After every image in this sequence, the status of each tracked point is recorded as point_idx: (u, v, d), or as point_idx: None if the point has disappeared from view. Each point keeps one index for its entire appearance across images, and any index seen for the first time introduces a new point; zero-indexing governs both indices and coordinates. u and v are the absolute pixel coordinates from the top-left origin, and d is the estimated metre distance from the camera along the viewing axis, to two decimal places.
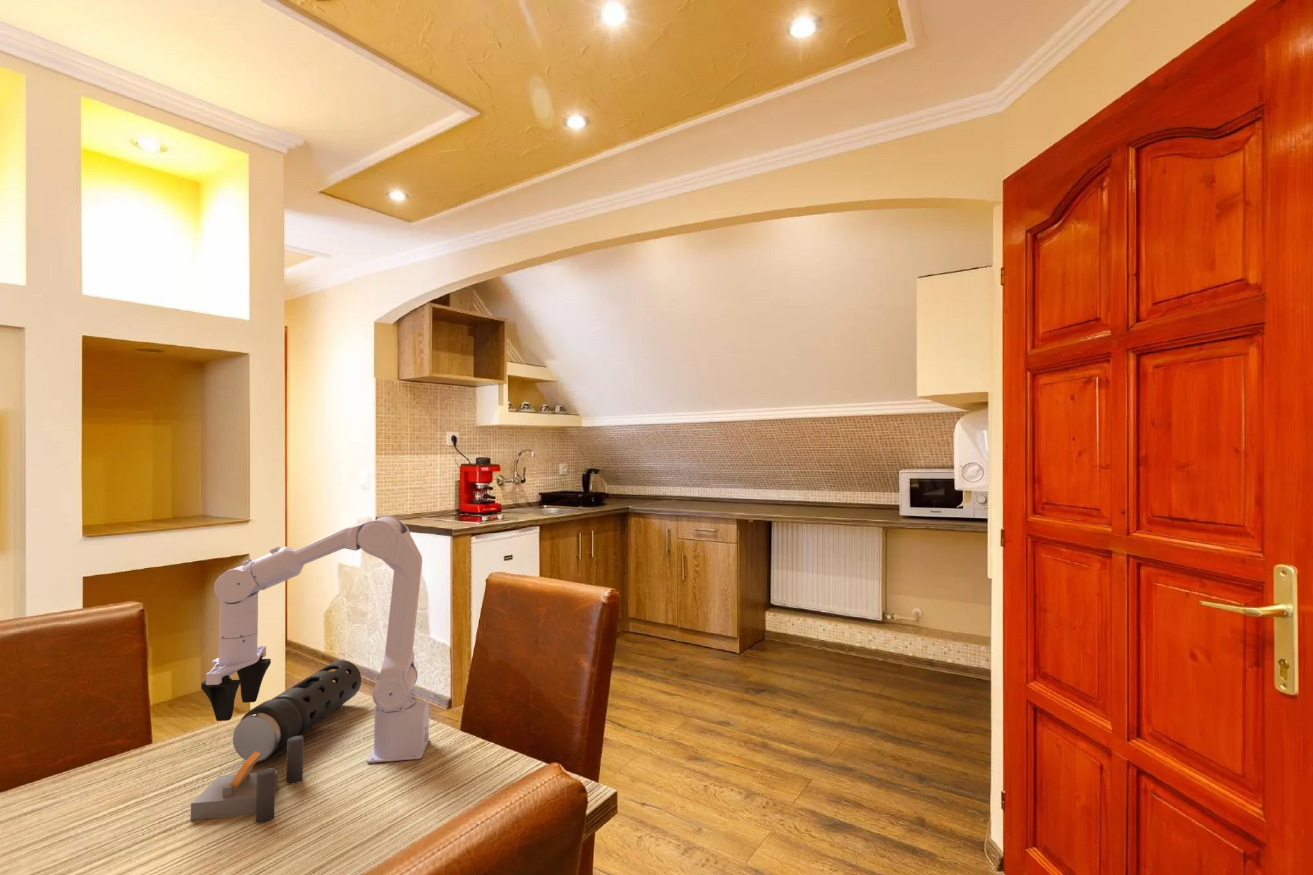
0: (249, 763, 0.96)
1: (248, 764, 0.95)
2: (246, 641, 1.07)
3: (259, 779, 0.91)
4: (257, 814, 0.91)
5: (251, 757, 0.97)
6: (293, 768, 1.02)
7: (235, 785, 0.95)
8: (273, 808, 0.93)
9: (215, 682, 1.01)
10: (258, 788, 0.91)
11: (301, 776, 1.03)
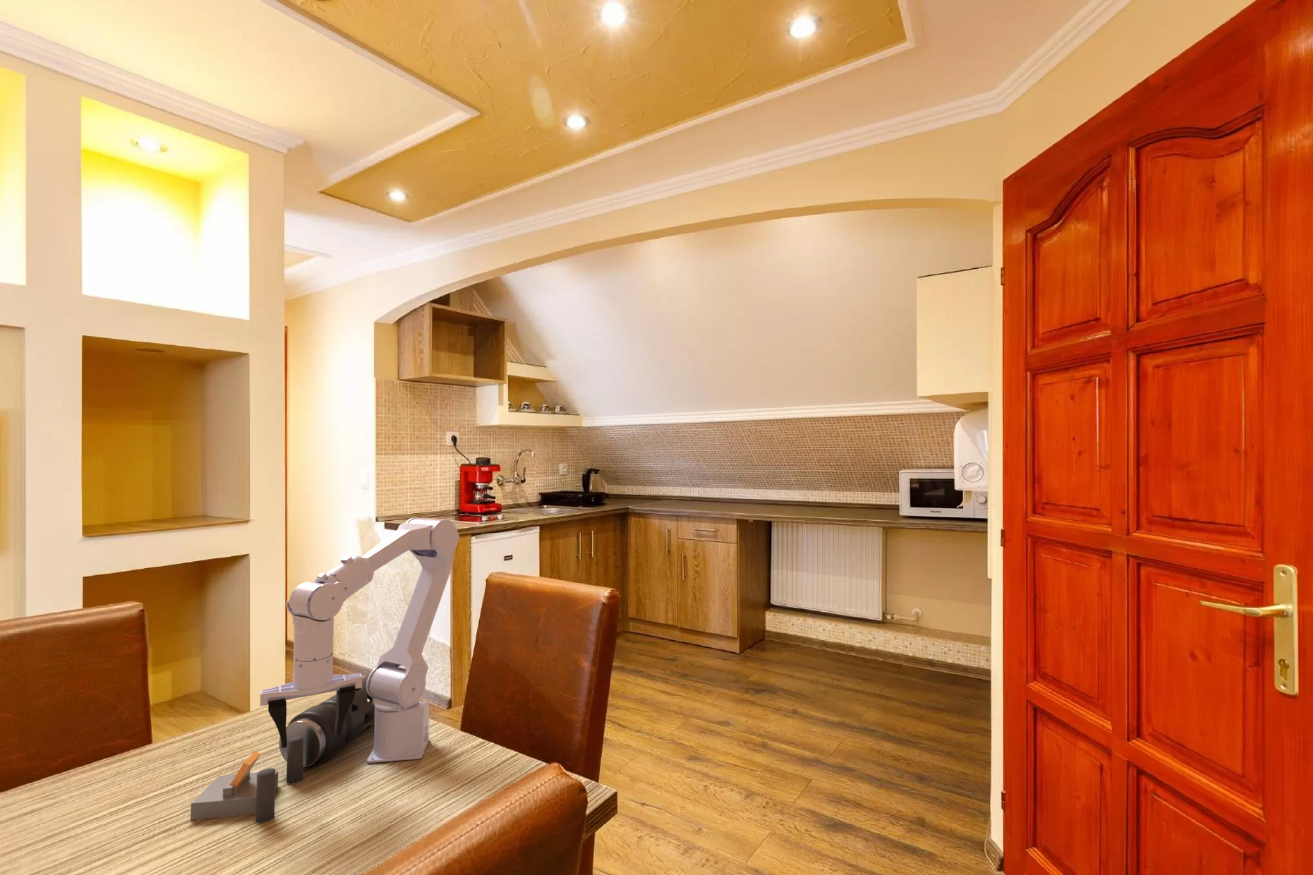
0: (249, 763, 0.96)
1: (248, 764, 0.95)
2: (302, 667, 0.96)
3: (259, 779, 0.91)
4: (257, 814, 0.91)
5: (251, 757, 0.97)
6: (293, 768, 1.02)
7: (235, 785, 0.95)
8: (273, 808, 0.93)
9: (260, 702, 0.95)
10: (258, 788, 0.91)
11: (301, 776, 1.03)
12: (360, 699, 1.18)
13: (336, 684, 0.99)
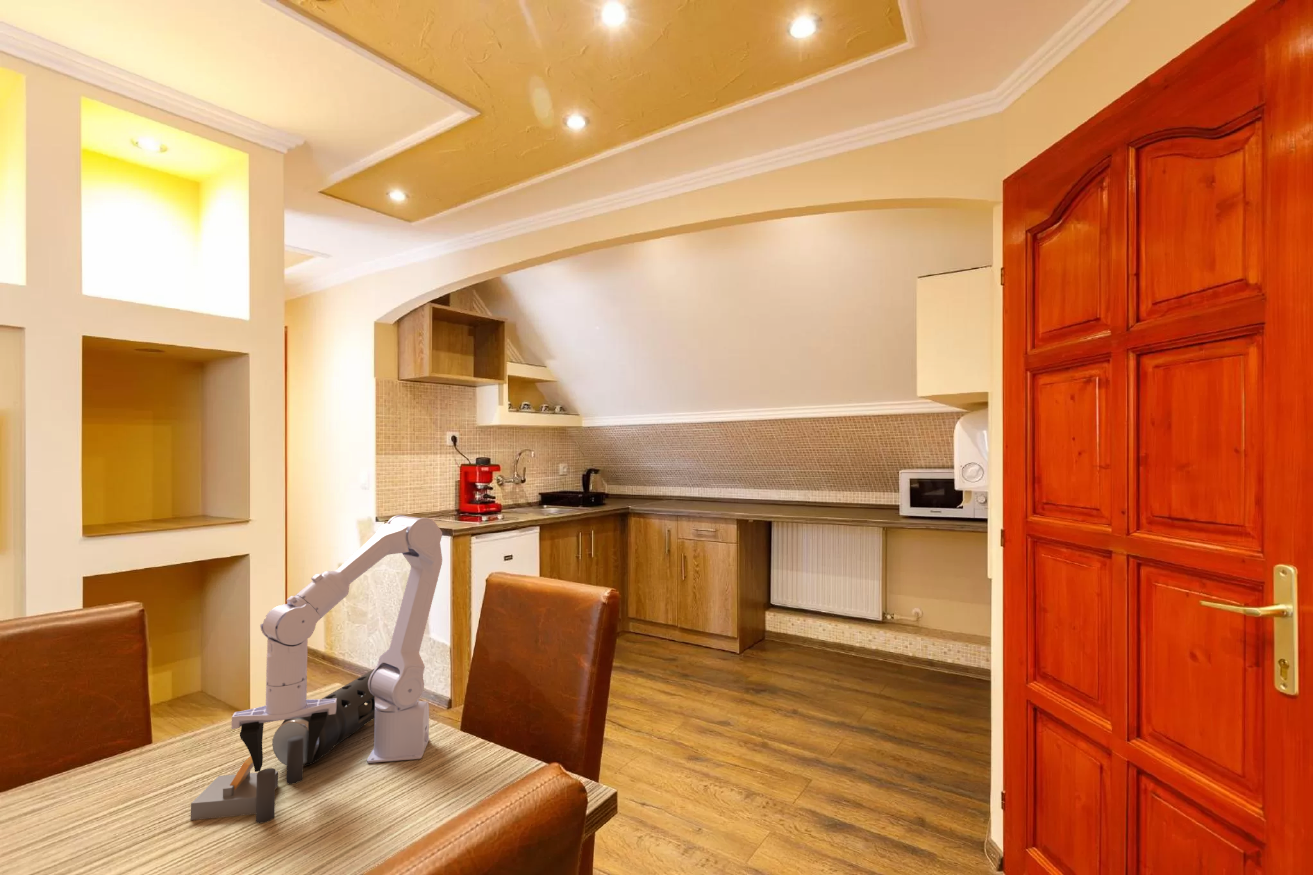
0: (249, 763, 0.96)
1: (248, 764, 0.95)
2: (272, 691, 0.96)
3: (259, 779, 0.91)
4: (257, 814, 0.91)
5: (251, 757, 0.97)
6: (293, 768, 1.02)
7: (235, 785, 0.95)
8: (273, 808, 0.93)
9: None
10: (258, 788, 0.91)
11: (301, 776, 1.03)
12: (350, 695, 1.18)
13: (307, 710, 0.98)
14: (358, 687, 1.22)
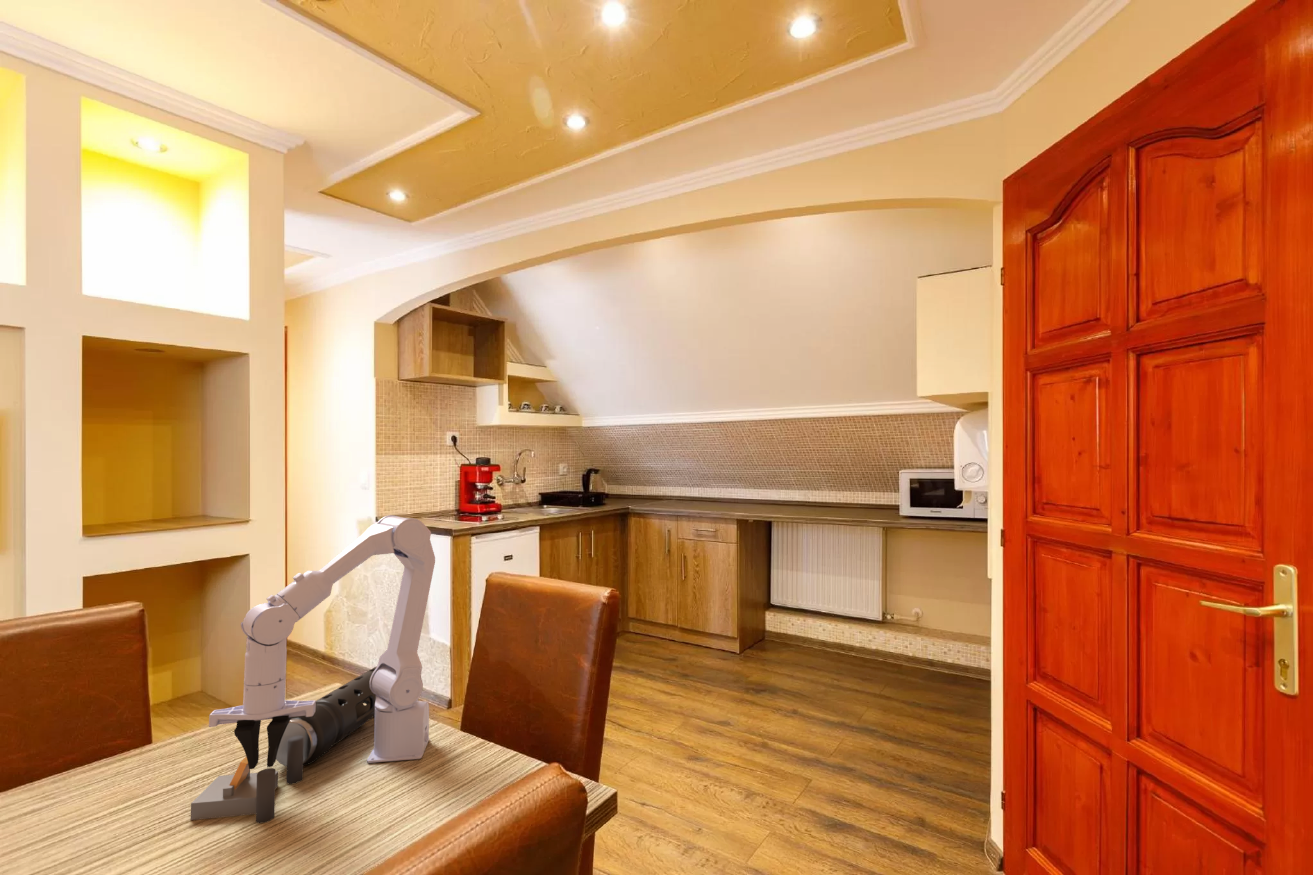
0: (246, 762, 0.96)
1: (245, 763, 0.95)
2: (248, 691, 0.95)
3: (259, 779, 0.91)
4: (257, 814, 0.91)
5: None
6: (293, 768, 1.02)
7: (235, 785, 0.95)
8: (273, 808, 0.93)
9: None
10: (258, 788, 0.91)
11: (301, 776, 1.03)
12: (346, 694, 1.18)
13: (283, 711, 0.96)
14: (354, 687, 1.22)
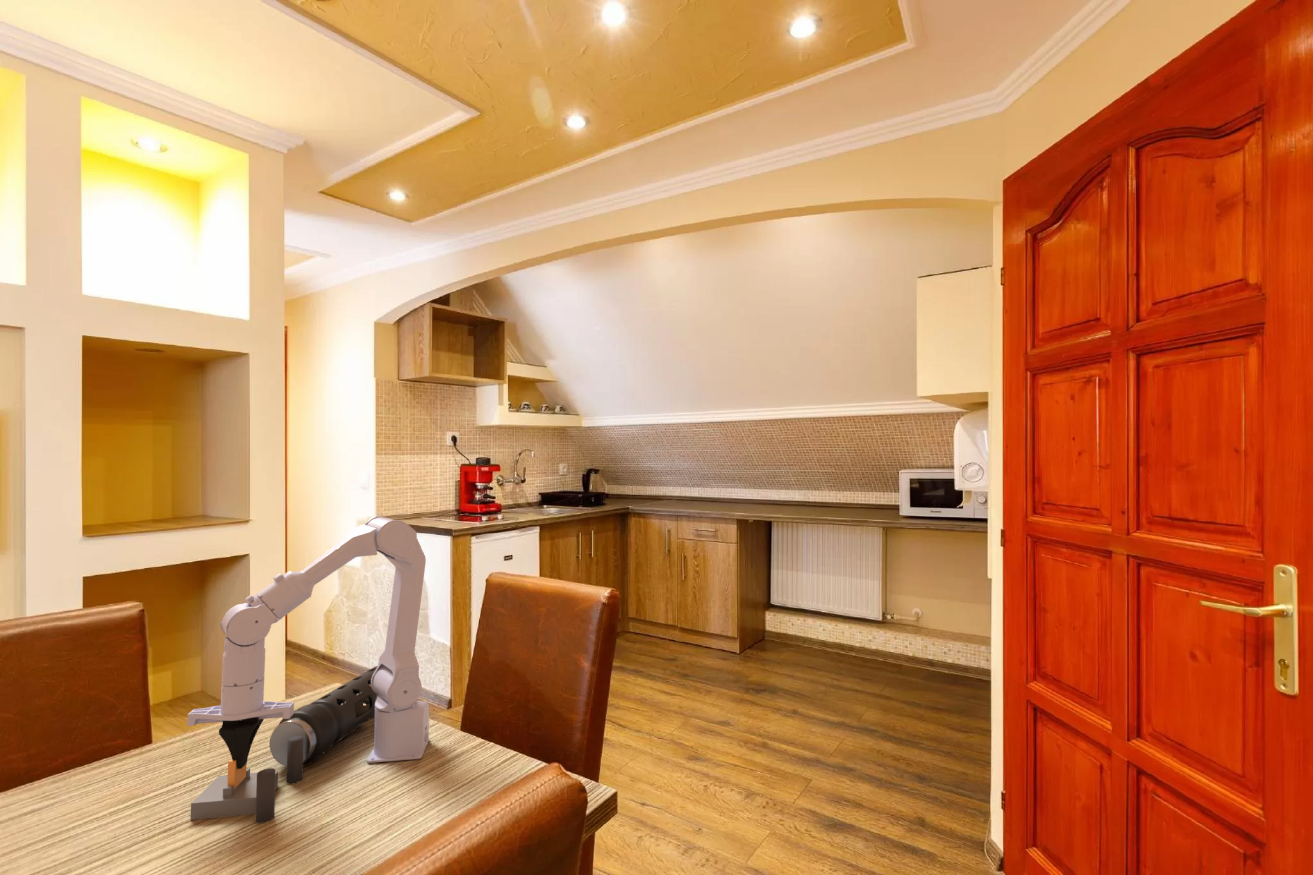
0: None
1: (233, 761, 0.95)
2: (224, 691, 0.94)
3: (259, 779, 0.91)
4: (257, 814, 0.91)
5: None
6: (293, 768, 1.02)
7: (232, 784, 0.95)
8: (273, 808, 0.93)
9: None
10: (258, 788, 0.91)
11: (301, 776, 1.03)
12: (345, 694, 1.18)
13: (259, 713, 0.96)
14: (353, 686, 1.22)
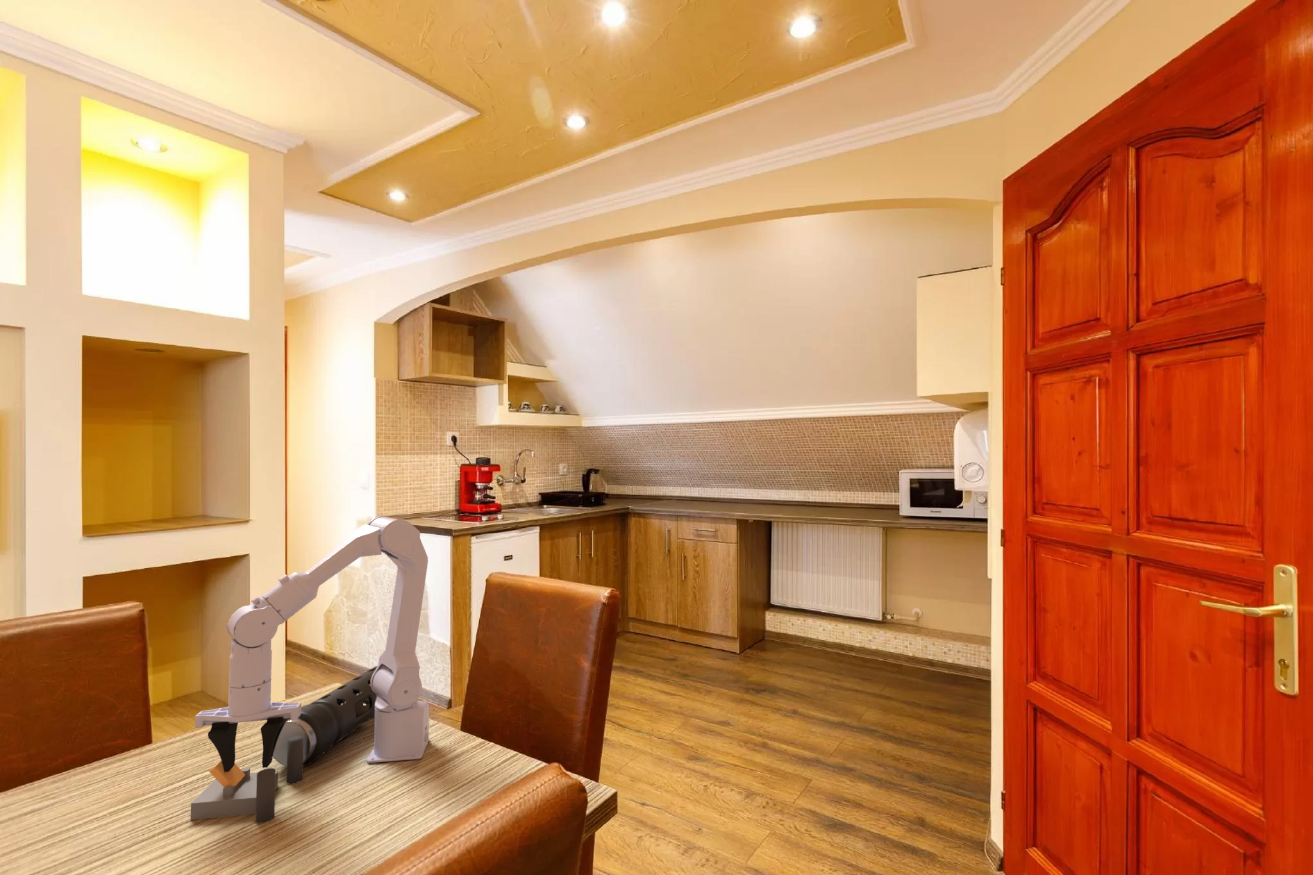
0: (214, 766, 0.95)
1: (213, 767, 0.95)
2: (232, 693, 0.95)
3: (259, 779, 0.91)
4: (257, 814, 0.91)
5: None
6: (293, 768, 1.02)
7: (228, 784, 0.95)
8: (273, 808, 0.93)
9: None
10: (258, 788, 0.91)
11: (301, 776, 1.03)
12: (345, 694, 1.18)
13: (267, 713, 0.96)
14: (353, 686, 1.22)
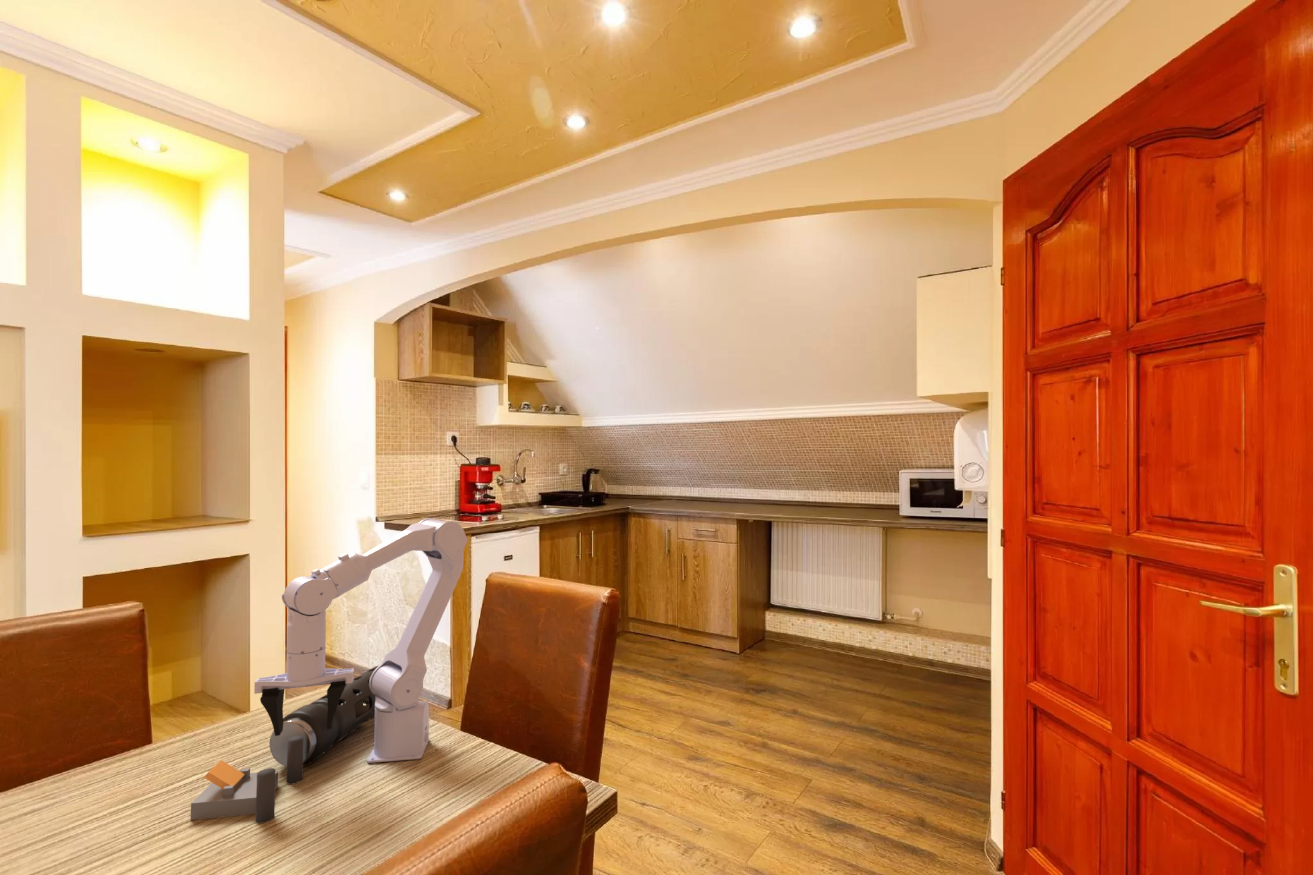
0: (208, 772, 0.95)
1: (207, 773, 0.94)
2: (291, 659, 0.99)
3: (259, 779, 0.91)
4: (257, 814, 0.91)
5: (212, 769, 0.96)
6: (293, 768, 1.02)
7: (227, 785, 0.95)
8: (273, 808, 0.93)
9: None
10: (258, 788, 0.91)
11: (301, 776, 1.03)
12: (345, 694, 1.18)
13: (325, 678, 1.01)
14: (353, 686, 1.22)
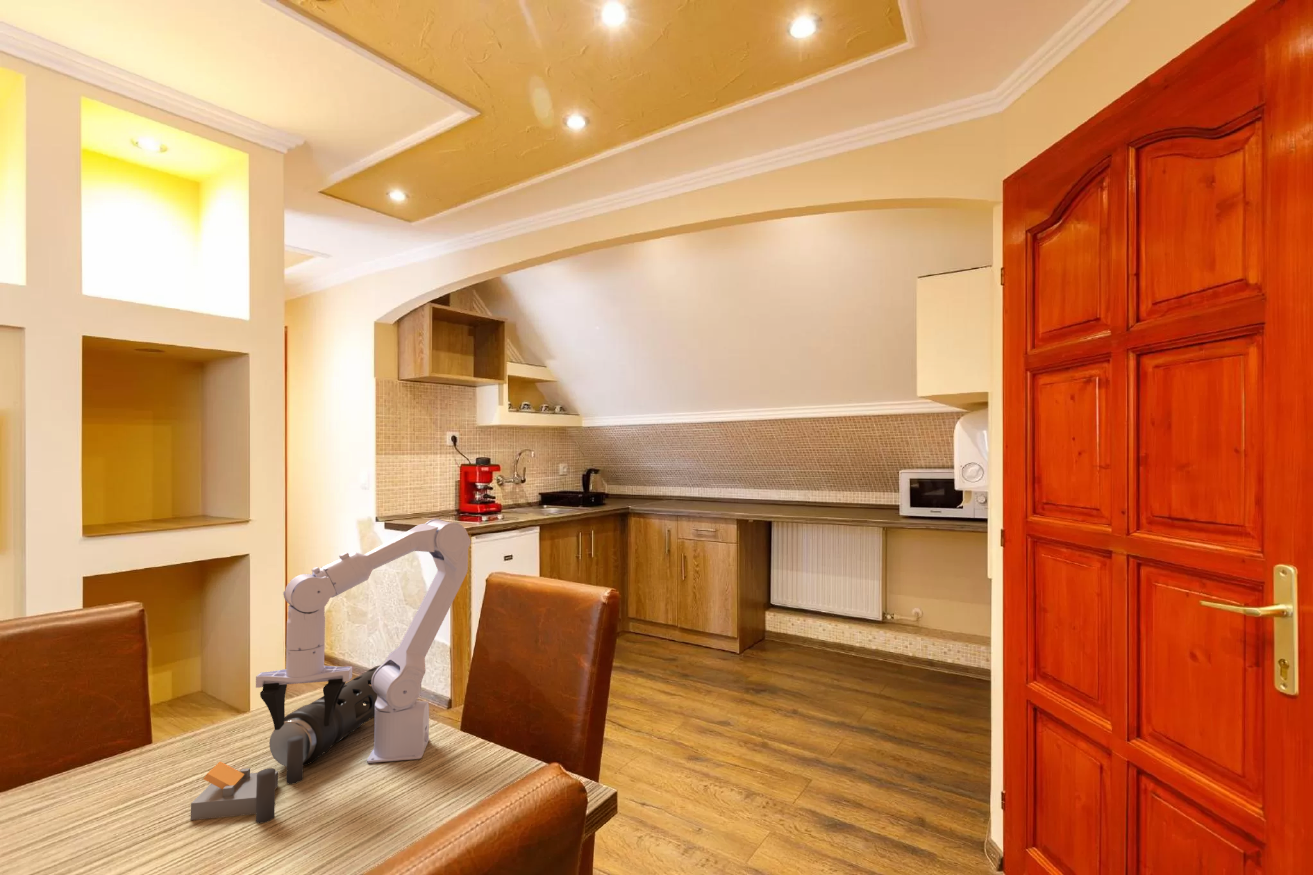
0: (207, 773, 0.95)
1: (206, 774, 0.94)
2: (289, 655, 1.01)
3: (259, 779, 0.91)
4: (257, 814, 0.91)
5: None
6: (293, 768, 1.02)
7: (227, 785, 0.95)
8: (273, 808, 0.93)
9: None
10: (258, 788, 0.91)
11: (301, 776, 1.03)
12: (345, 694, 1.18)
13: (322, 675, 1.02)
14: (353, 686, 1.22)
